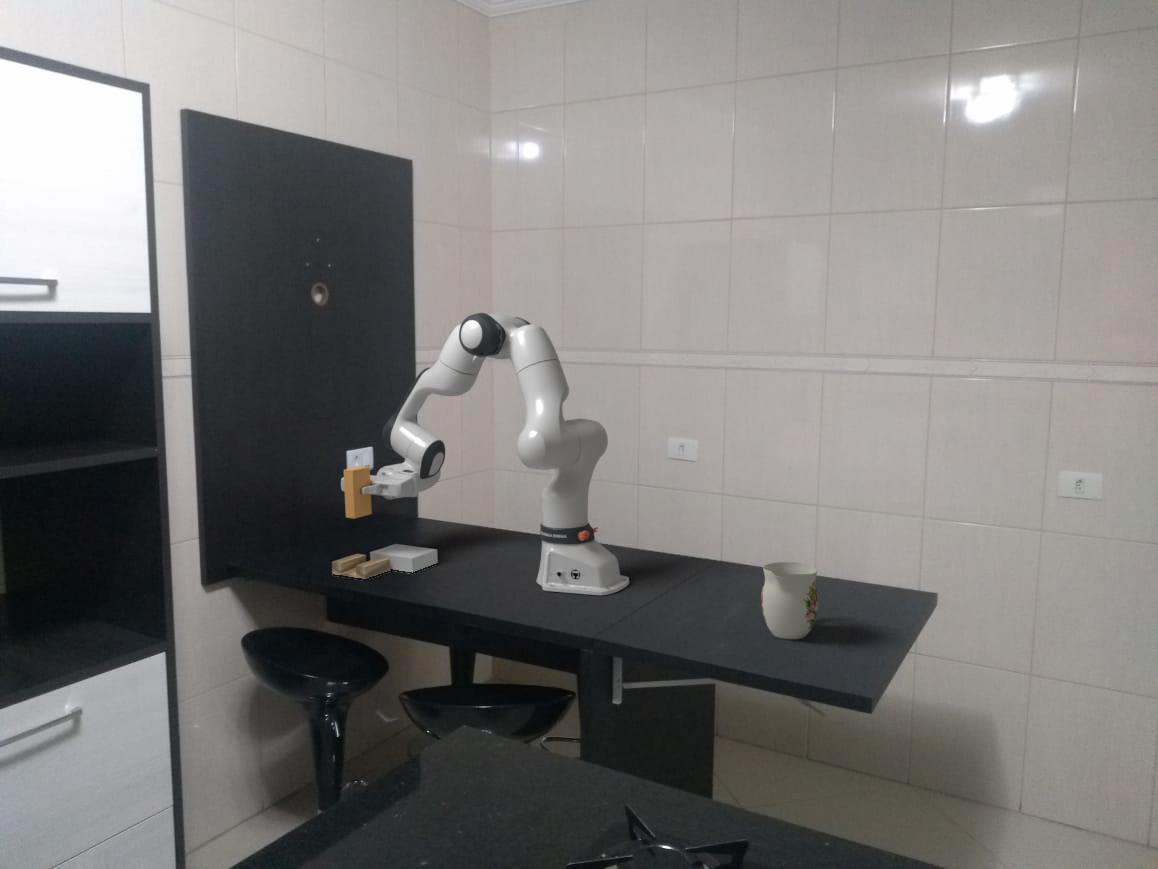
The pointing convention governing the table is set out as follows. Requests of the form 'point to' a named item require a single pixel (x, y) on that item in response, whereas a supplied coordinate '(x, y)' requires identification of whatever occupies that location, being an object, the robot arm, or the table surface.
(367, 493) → the robot arm
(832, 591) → the table surface
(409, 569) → the block
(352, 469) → the orange rectangular block
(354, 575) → the rack
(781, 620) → the pitcher
